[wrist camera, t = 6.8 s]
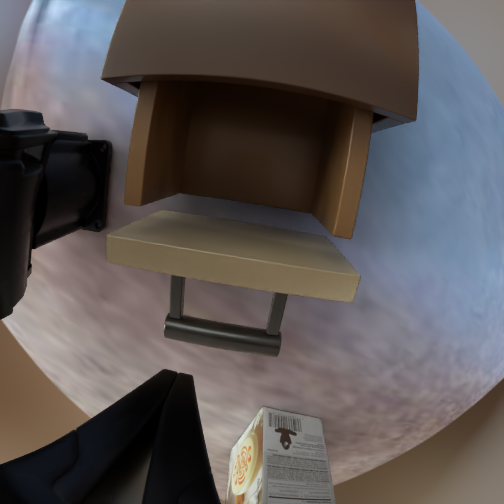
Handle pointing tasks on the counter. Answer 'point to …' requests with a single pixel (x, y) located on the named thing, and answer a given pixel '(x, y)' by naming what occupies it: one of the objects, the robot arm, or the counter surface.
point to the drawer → (242, 197)
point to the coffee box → (280, 462)
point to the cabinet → (276, 49)
